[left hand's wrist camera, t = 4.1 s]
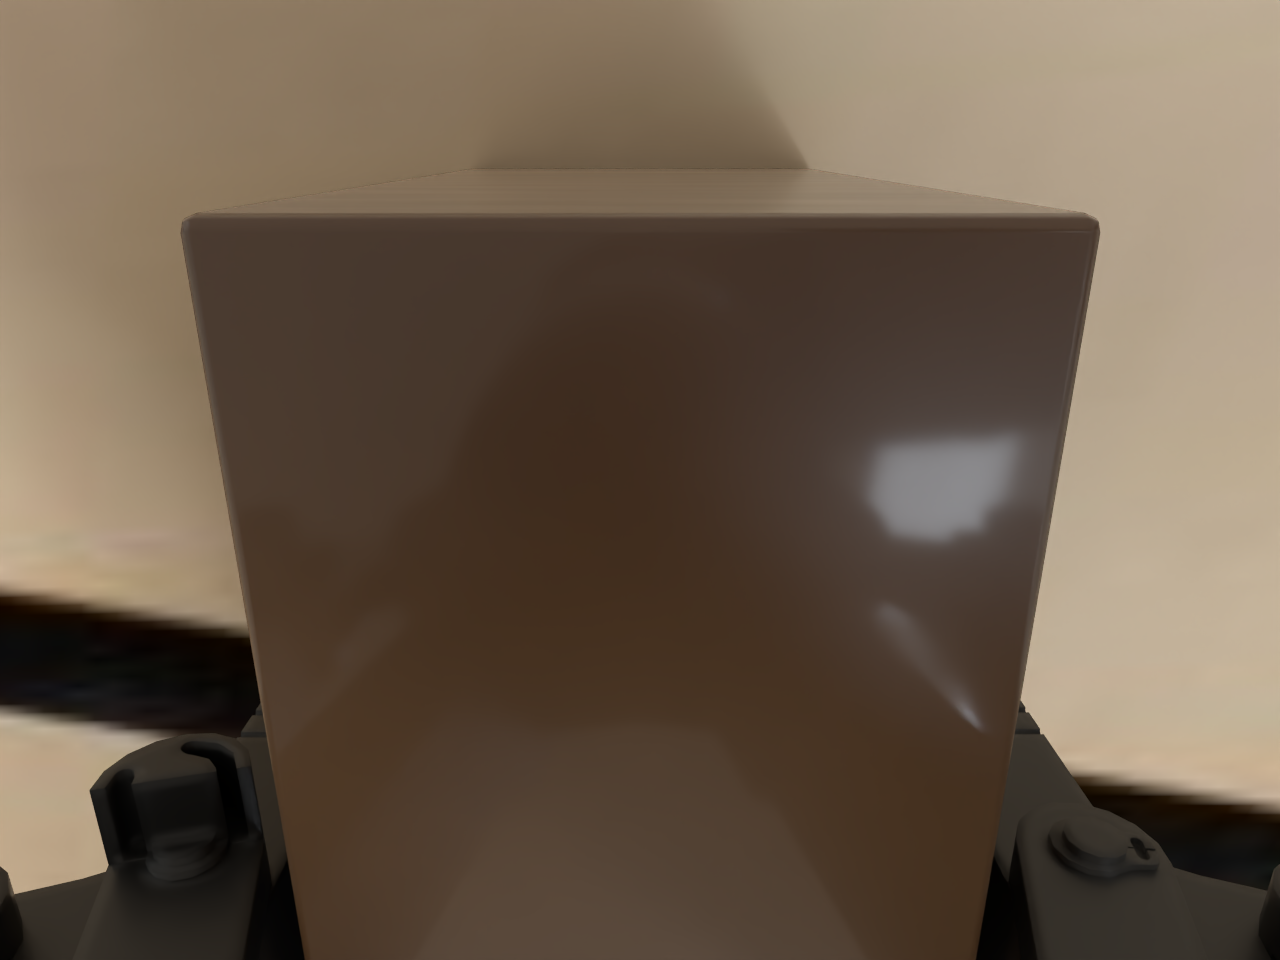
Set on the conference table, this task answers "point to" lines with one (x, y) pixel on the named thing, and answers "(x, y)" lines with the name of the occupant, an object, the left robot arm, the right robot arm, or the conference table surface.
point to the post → (640, 550)
